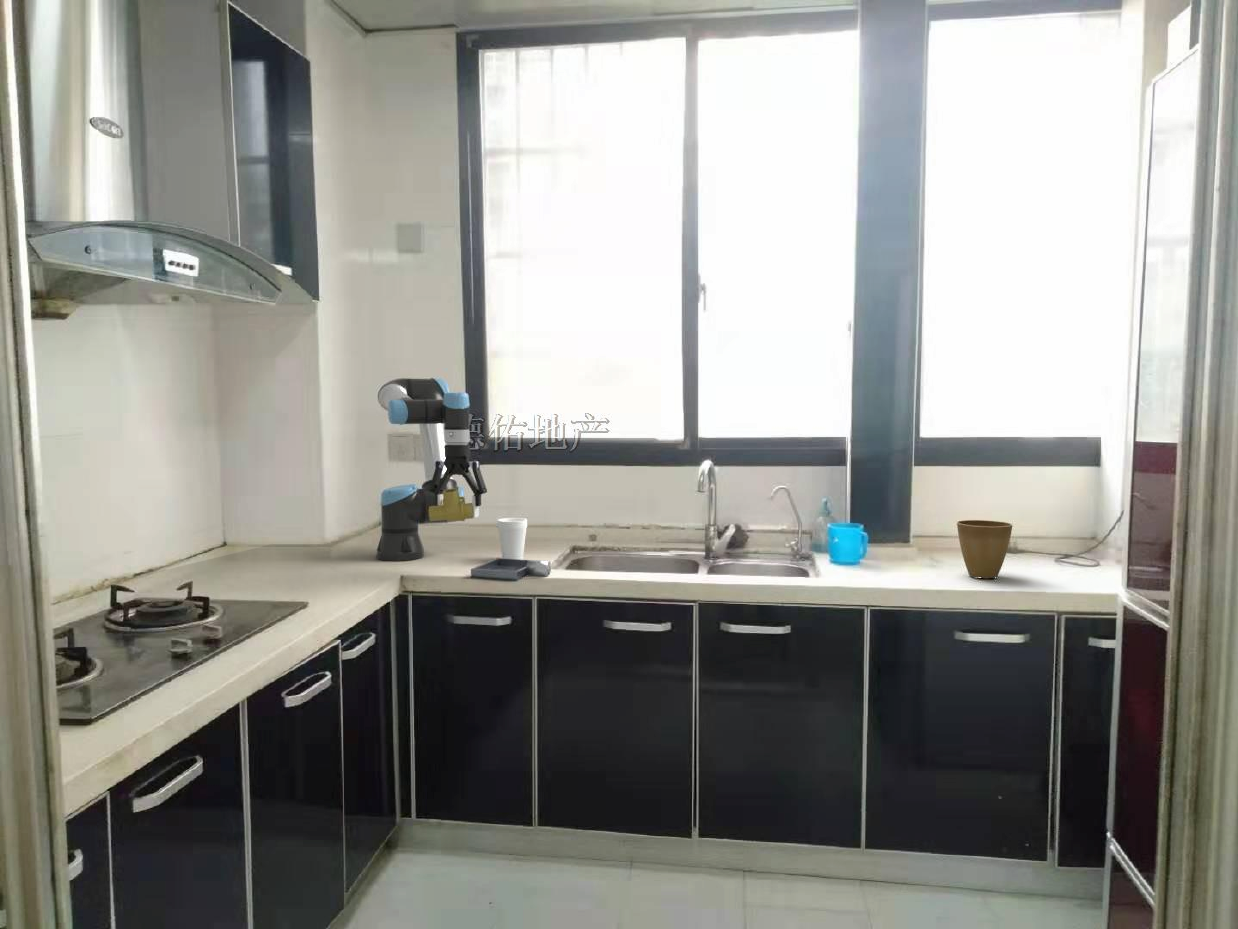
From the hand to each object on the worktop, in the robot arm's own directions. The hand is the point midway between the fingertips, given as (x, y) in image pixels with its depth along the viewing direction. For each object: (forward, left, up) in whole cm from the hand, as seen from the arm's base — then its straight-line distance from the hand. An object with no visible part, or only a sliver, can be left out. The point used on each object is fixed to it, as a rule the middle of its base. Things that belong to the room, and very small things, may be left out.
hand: (458, 516), depth 253 cm
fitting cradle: (+19, 0, -16) cm, 25 cm away
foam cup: (+9, +19, -17) cm, 27 cm away
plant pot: (+151, +37, -17) cm, 156 cm away
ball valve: (-1, -2, -1) cm, 2 cm away
